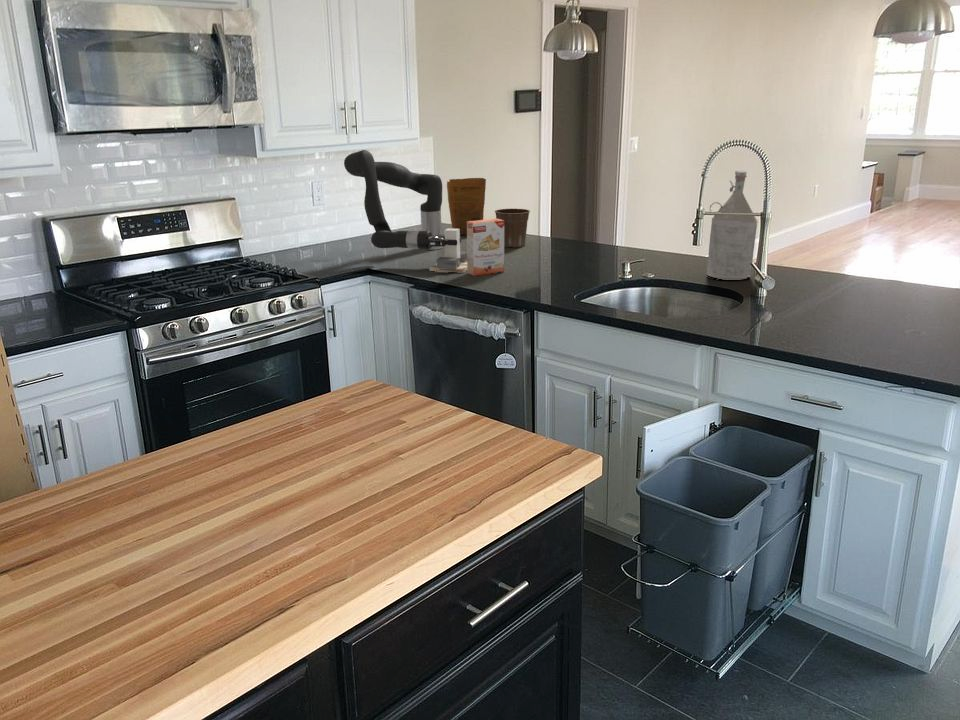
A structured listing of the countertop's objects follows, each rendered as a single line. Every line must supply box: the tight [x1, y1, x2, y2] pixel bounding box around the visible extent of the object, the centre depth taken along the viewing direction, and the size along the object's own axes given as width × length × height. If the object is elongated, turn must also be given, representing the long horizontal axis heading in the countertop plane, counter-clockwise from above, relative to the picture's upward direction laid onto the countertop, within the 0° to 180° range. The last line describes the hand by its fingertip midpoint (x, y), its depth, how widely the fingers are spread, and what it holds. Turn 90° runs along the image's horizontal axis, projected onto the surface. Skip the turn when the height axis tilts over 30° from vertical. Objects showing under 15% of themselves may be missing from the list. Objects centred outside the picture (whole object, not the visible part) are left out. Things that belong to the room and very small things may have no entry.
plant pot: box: [494, 208, 531, 249], centre depth 358 cm, size 16×16×16 cm
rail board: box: [429, 250, 467, 274], centre depth 318 cm, size 18×14×5 cm
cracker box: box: [466, 218, 505, 277], centre depth 305 cm, size 14×6×21 cm, turn 117°
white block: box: [444, 227, 461, 258], centre depth 316 cm, size 4×5×12 cm
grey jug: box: [706, 169, 758, 278], centre depth 288 cm, size 13×17×40 cm
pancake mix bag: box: [446, 177, 487, 236], centre depth 384 cm, size 7×19×28 cm, turn 85°
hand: (458, 241), depth 315 cm, fingers closed on white block, 4 cm apart
